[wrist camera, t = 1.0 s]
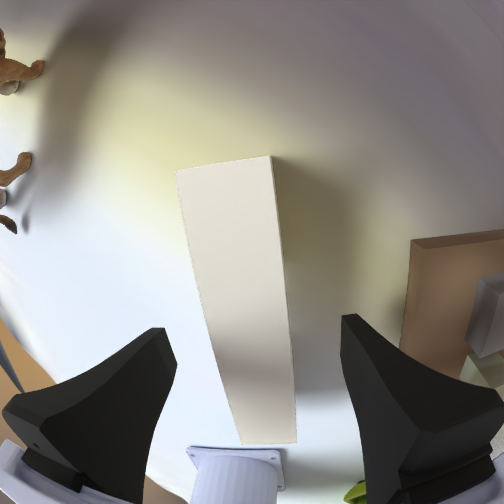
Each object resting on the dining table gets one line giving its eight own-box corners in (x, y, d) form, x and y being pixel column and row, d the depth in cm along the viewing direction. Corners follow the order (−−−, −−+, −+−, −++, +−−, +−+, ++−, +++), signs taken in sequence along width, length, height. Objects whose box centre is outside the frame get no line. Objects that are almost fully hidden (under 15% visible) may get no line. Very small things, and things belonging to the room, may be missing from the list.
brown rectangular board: (485, 401, 16) (505, 436, 12) (375, 437, 18) (386, 485, 13) (540, 225, 11) (587, 248, 6) (410, 239, 12) (464, 281, 8)
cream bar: (295, 393, 16) (296, 443, 13) (248, 395, 17) (241, 444, 13) (271, 155, 12) (269, 155, 8) (204, 165, 12) (174, 171, 8)
